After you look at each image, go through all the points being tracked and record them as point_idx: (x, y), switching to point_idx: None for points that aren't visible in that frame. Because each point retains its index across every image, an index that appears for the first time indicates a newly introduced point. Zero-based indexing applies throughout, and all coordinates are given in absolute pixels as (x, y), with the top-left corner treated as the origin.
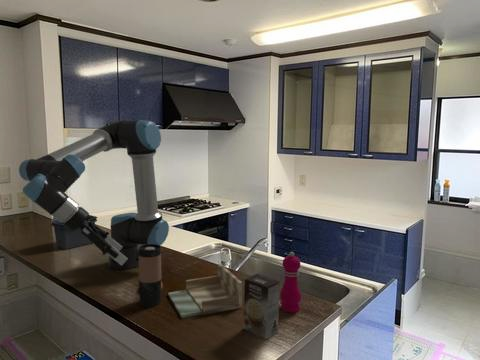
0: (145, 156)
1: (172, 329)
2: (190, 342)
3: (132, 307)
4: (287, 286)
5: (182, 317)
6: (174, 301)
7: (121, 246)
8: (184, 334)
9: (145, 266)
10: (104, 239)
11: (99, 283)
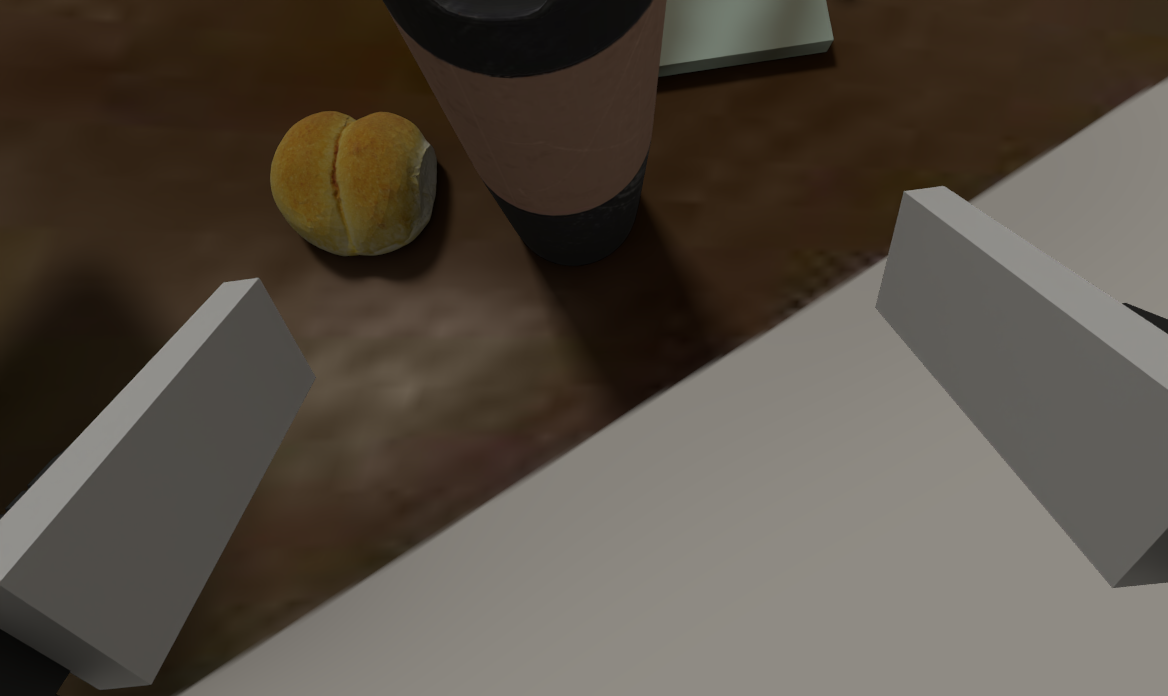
0: None
1: (942, 109)
2: (1096, 36)
3: (614, 312)
4: None
5: (827, 45)
6: None
7: (247, 293)
8: (1009, 56)
9: (650, 74)
10: (72, 661)
11: None
